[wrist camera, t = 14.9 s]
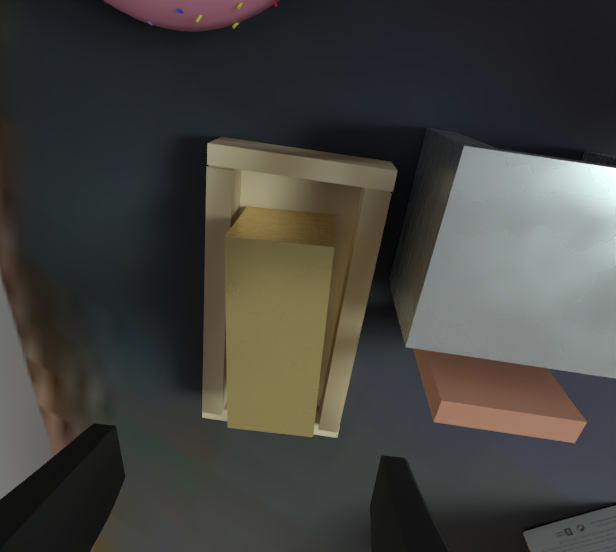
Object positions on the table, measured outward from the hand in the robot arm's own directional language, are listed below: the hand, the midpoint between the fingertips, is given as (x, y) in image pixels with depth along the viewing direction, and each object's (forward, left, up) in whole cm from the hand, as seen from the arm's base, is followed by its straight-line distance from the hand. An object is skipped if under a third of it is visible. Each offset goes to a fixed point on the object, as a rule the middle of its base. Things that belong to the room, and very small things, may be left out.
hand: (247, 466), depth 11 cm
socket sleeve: (-9, -5, -10) cm, 14 cm away
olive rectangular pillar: (0, 0, -9) cm, 9 cm away
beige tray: (0, 0, -10) cm, 10 cm away
